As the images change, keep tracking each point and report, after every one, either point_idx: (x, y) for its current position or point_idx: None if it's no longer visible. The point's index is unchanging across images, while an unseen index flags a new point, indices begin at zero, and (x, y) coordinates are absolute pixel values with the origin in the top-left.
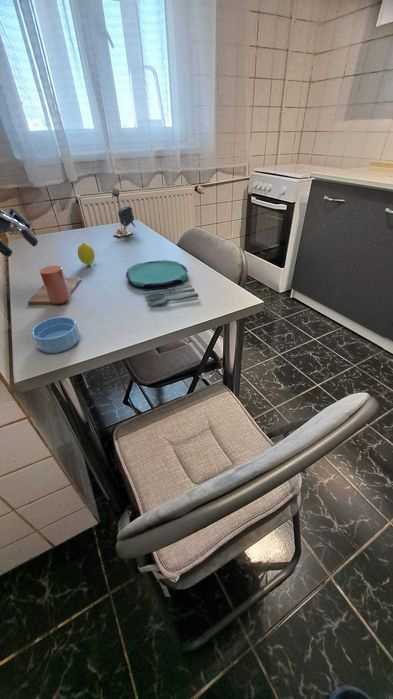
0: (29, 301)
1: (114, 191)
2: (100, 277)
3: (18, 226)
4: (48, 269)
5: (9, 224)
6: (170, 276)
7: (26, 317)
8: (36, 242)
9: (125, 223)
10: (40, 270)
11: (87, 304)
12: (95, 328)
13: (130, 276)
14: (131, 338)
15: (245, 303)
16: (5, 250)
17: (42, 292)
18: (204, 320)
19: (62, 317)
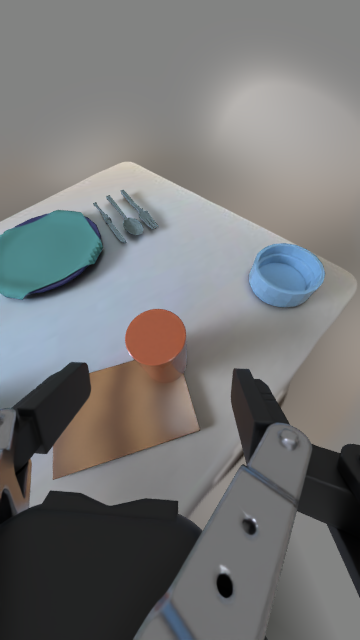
0: (197, 425)
1: None
2: (42, 350)
3: (10, 447)
4: (156, 341)
5: (24, 512)
6: (61, 230)
7: None
8: (85, 364)
9: None
10: (168, 358)
11: (166, 308)
12: (228, 262)
13: (61, 278)
14: (231, 221)
15: (128, 166)
16: (260, 383)
17: (146, 427)
18: (172, 183)
19: (260, 272)
